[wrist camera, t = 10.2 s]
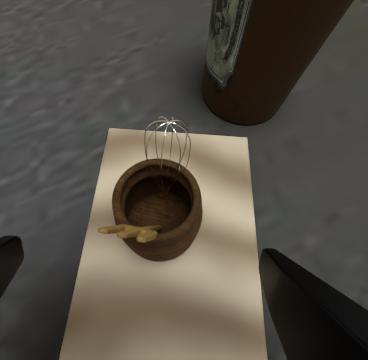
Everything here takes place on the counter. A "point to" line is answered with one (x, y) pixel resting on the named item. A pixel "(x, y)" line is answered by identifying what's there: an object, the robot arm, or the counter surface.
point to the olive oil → (262, 53)
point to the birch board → (172, 265)
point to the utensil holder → (157, 206)
